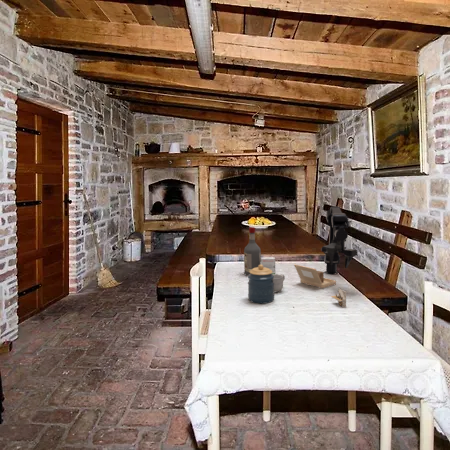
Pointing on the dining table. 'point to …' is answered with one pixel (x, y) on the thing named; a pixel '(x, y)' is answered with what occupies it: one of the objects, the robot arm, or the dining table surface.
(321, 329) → the dining table surface
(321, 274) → the walnut block
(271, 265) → the ink box
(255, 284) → the canister
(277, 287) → the teacup
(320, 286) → the box
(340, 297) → the architectural model
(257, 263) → the liquor
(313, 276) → the mailer lid
